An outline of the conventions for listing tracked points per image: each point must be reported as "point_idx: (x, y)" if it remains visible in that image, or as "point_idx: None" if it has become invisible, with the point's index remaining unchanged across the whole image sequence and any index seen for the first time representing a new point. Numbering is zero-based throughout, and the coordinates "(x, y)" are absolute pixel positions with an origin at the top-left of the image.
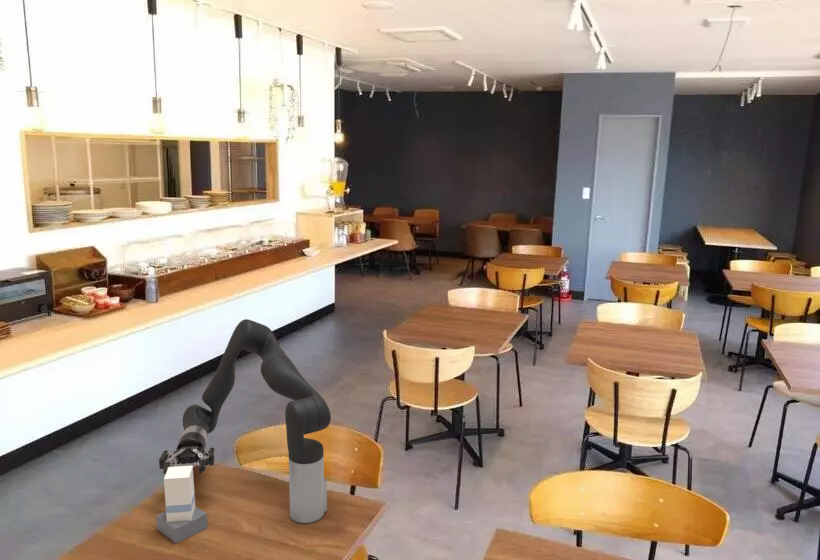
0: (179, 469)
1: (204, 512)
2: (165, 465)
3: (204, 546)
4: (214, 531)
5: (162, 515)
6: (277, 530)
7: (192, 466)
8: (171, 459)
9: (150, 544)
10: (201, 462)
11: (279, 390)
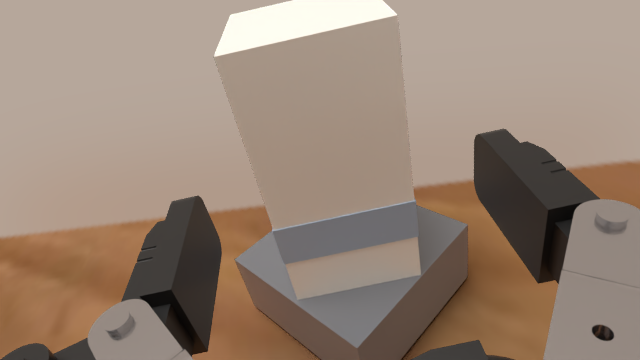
0: (302, 23)
1: (245, 267)
2: (569, 185)
3: (256, 228)
4: (227, 294)
5: (436, 228)
6: (7, 318)
7: (215, 56)
8: (579, 246)
9: (441, 214)
10: (165, 248)
11: None
